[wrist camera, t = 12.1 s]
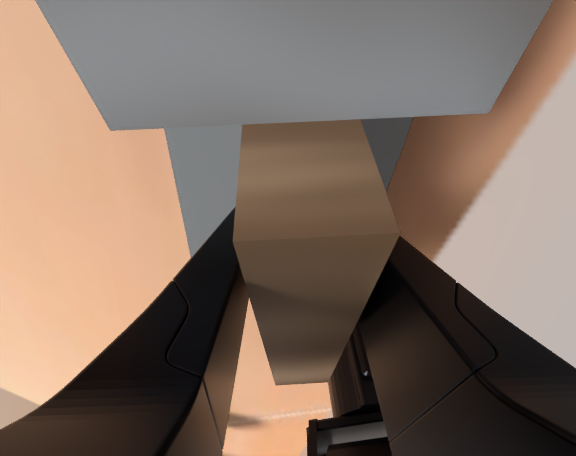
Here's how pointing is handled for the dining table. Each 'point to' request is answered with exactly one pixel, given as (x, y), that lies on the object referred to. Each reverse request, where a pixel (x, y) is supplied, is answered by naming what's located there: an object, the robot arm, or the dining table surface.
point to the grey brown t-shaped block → (297, 125)
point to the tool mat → (225, 163)
